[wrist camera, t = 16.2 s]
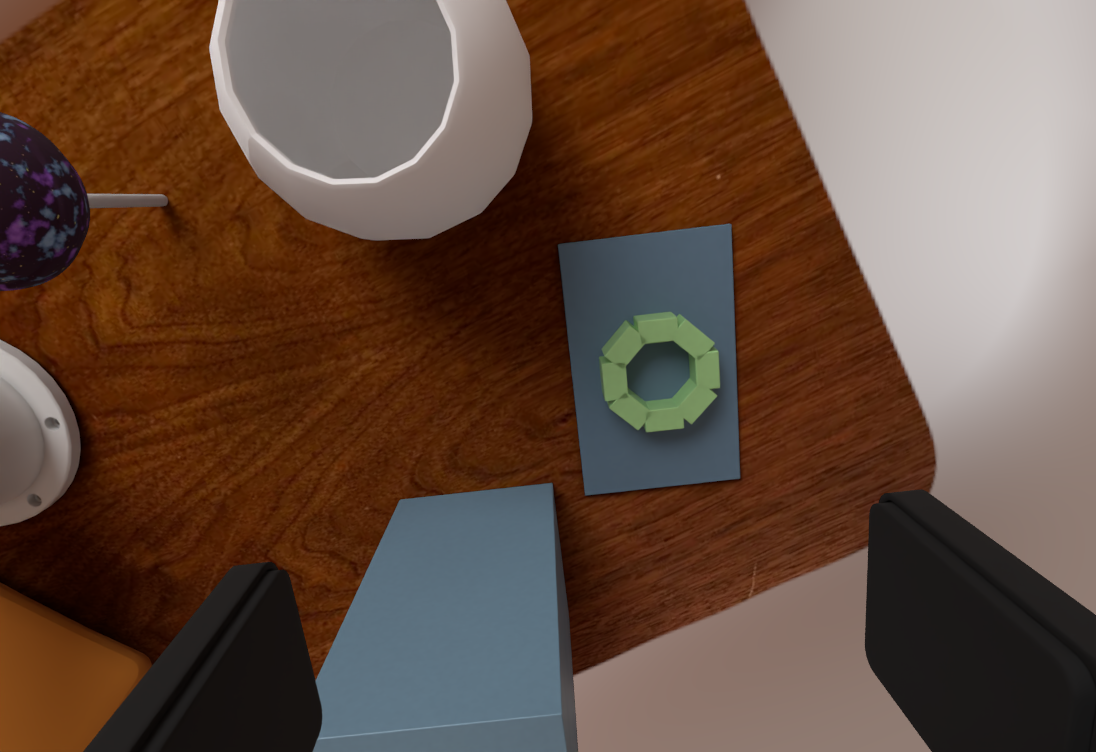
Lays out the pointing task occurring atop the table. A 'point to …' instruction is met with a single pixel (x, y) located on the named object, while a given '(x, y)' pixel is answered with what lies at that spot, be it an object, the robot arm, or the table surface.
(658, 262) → the mat
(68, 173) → the lollipop
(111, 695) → the orange rounded block
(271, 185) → the cup
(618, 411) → the ring
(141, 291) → the table surface
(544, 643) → the stacking stand
